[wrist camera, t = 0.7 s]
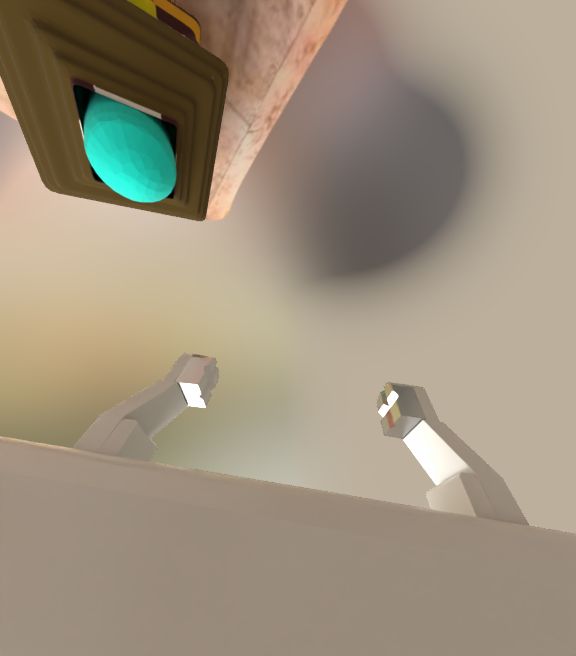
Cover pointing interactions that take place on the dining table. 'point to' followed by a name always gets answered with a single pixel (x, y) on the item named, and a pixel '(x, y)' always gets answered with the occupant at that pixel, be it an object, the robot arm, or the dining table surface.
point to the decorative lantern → (115, 100)
